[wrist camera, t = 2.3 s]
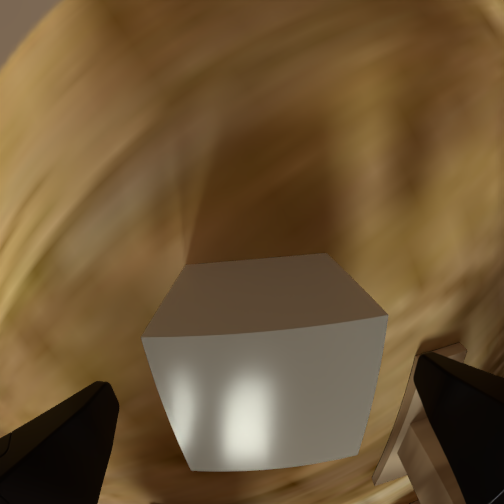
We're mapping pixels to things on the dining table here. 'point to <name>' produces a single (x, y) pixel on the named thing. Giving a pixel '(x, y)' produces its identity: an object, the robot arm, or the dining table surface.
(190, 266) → the pale grey cube
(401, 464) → the stand
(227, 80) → the dining table surface
